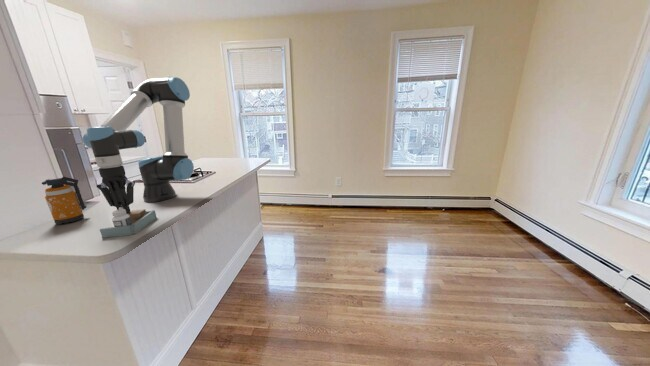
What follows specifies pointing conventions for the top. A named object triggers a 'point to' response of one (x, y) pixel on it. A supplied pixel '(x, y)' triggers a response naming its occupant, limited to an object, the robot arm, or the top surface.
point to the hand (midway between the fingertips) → (126, 220)
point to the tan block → (136, 215)
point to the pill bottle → (121, 218)
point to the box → (131, 228)
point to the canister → (64, 200)
